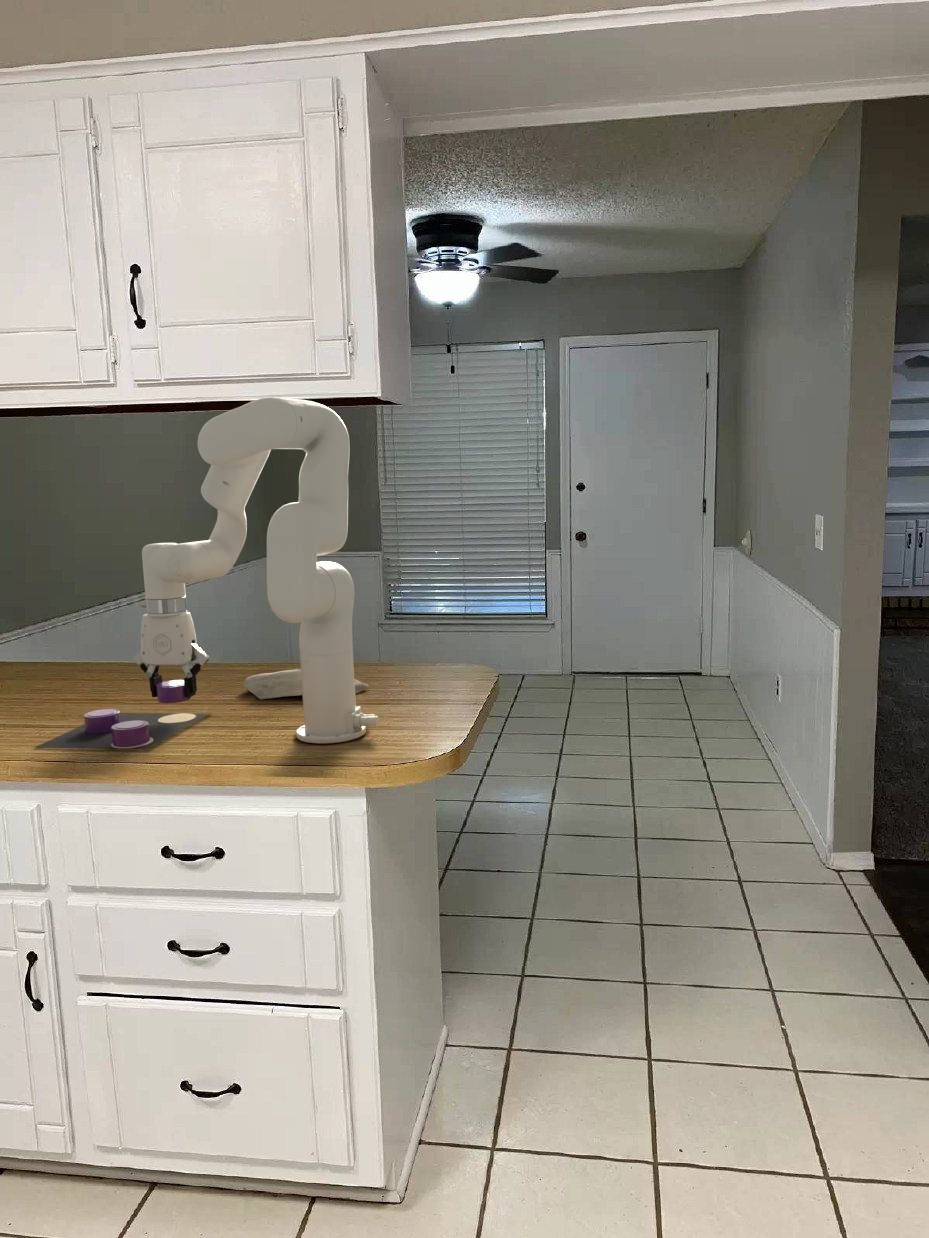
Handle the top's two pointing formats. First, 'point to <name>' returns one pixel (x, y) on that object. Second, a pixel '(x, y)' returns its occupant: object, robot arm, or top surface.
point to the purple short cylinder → (130, 733)
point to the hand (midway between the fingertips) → (174, 695)
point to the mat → (158, 722)
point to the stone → (282, 684)
